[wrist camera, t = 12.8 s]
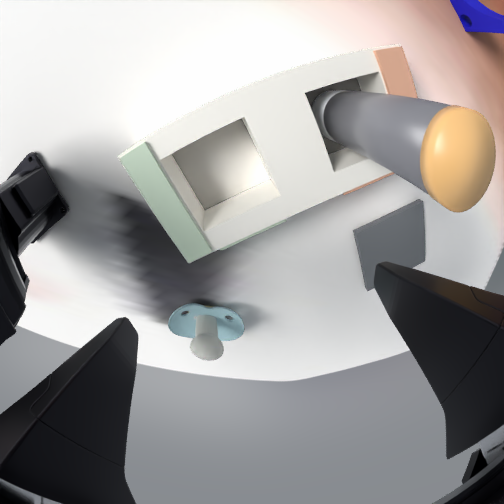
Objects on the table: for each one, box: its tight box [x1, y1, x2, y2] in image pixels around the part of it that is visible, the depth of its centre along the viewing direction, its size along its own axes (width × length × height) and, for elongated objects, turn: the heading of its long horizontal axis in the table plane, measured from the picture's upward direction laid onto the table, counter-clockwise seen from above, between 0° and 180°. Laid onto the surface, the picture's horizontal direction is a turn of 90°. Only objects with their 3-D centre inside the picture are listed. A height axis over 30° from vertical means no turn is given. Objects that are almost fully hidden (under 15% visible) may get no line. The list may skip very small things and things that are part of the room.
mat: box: [353, 199, 425, 291], centre depth 25 cm, size 8×8×1 cm
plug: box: [311, 90, 496, 212], centre depth 12 cm, size 4×4×13 cm
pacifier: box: [168, 303, 244, 360], centre depth 25 cm, size 7×6×6 cm
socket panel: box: [117, 44, 418, 263], centre depth 17 cm, size 20×9×4 cm, turn 115°
